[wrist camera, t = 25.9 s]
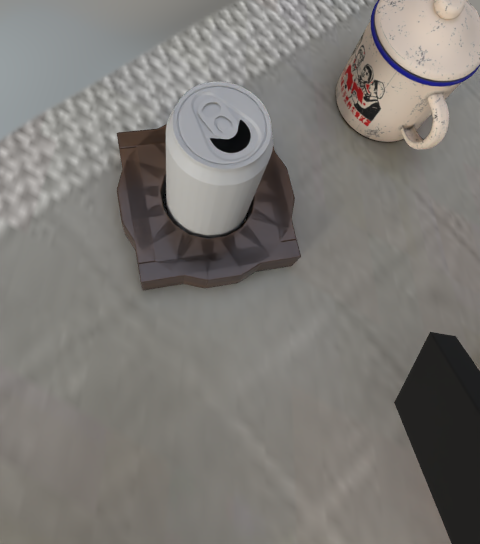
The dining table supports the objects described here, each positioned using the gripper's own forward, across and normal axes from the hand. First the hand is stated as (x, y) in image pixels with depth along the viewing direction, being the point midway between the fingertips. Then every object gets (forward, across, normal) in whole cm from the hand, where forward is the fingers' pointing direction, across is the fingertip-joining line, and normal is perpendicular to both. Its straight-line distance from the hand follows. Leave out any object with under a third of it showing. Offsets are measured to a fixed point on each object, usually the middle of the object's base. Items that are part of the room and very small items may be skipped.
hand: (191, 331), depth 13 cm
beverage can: (+25, 0, -6) cm, 26 cm away
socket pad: (+25, 0, -6) cm, 25 cm away
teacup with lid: (+34, +14, +2) cm, 37 cm away
